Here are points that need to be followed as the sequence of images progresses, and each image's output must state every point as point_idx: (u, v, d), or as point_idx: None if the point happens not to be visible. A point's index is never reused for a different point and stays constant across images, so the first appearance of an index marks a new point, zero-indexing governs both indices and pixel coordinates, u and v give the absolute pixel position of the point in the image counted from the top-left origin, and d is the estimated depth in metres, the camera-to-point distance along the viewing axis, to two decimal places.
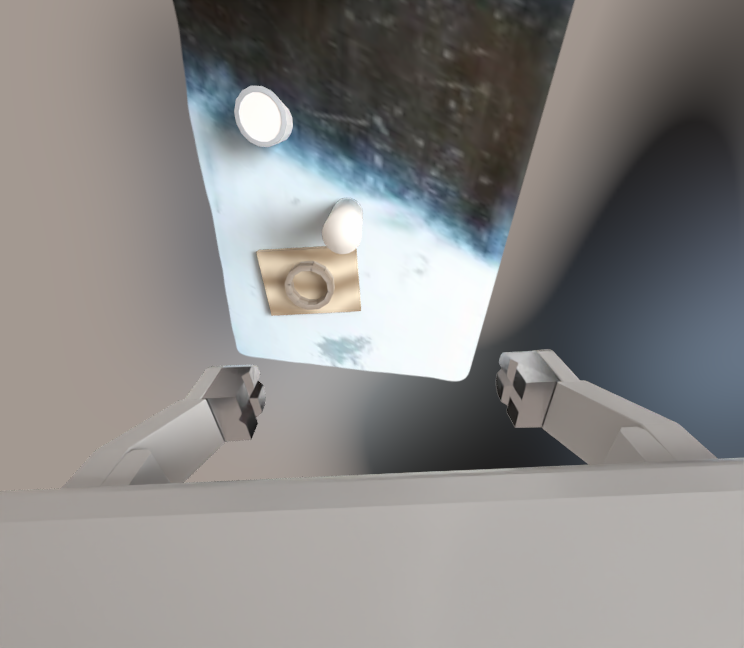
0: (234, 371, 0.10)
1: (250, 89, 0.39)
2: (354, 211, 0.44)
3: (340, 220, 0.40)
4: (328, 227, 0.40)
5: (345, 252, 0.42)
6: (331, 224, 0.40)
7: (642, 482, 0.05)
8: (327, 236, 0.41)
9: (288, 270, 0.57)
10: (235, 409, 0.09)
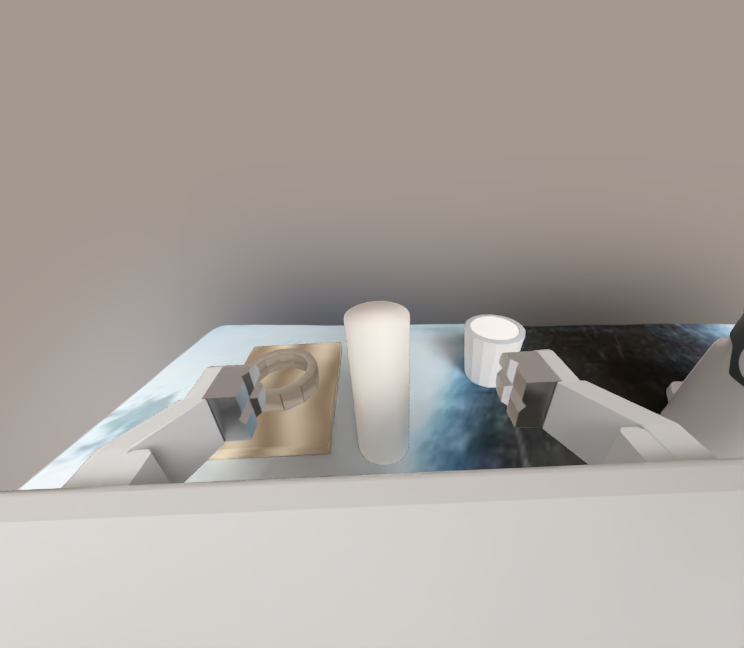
0: (234, 371, 0.10)
1: (517, 323, 0.37)
2: (404, 378, 0.25)
3: (400, 314, 0.24)
4: (389, 305, 0.26)
5: (346, 318, 0.24)
6: (393, 307, 0.25)
7: (642, 482, 0.05)
8: (374, 304, 0.26)
9: None
10: (235, 409, 0.09)
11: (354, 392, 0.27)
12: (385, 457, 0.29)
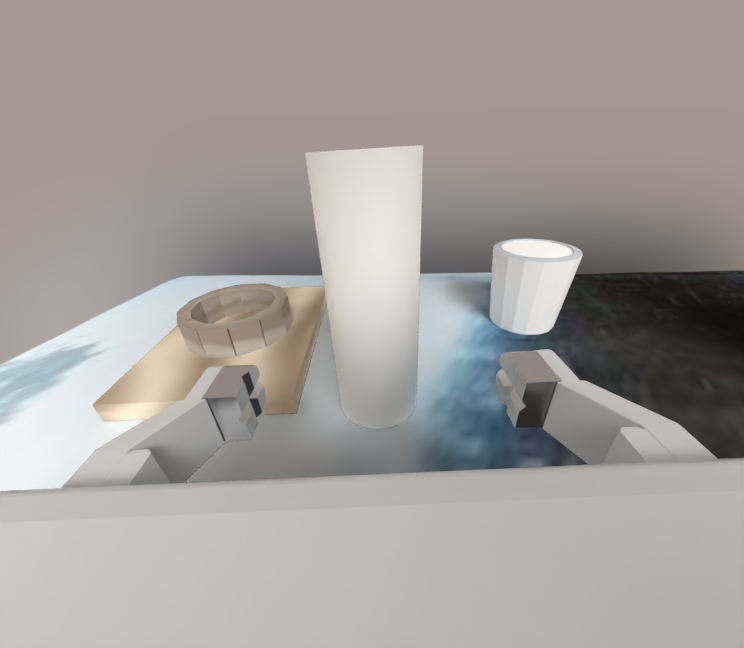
0: (234, 371, 0.10)
1: (567, 244, 0.27)
2: (411, 269, 0.15)
3: (405, 146, 0.14)
4: None
5: None
6: None
7: (642, 482, 0.05)
8: None
9: None
10: (235, 409, 0.09)
11: (328, 301, 0.16)
12: (380, 415, 0.18)
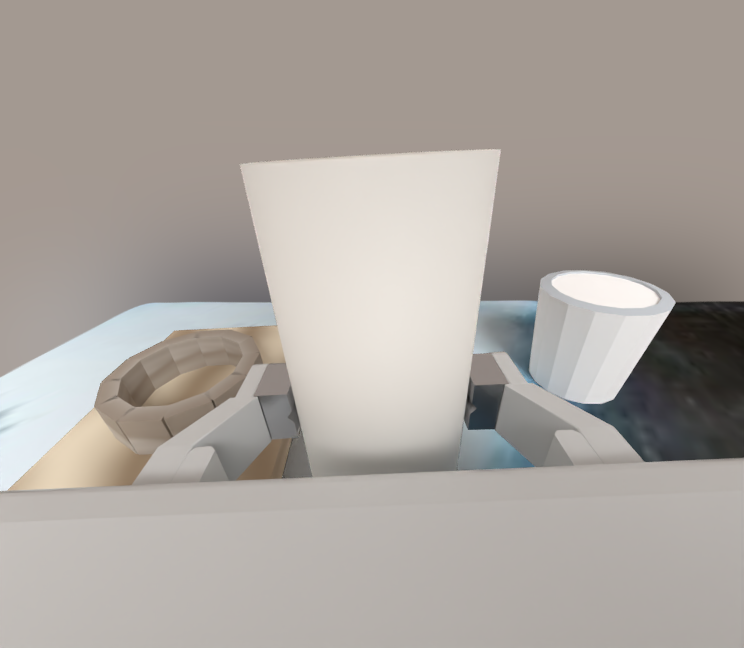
0: (280, 369, 0.09)
1: (644, 282, 0.19)
2: (461, 390, 0.08)
3: (457, 151, 0.06)
4: None
5: None
6: None
7: (642, 482, 0.05)
8: (364, 155, 0.08)
9: None
10: (285, 407, 0.09)
11: (302, 430, 0.09)
12: None
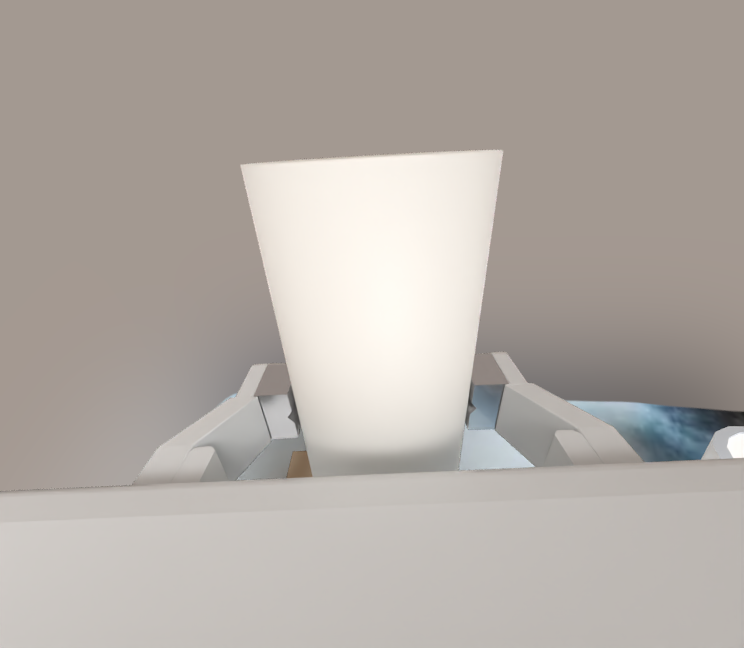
0: (280, 369, 0.09)
1: None
2: (463, 392, 0.08)
3: None
4: (412, 153, 0.08)
5: None
6: None
7: (642, 482, 0.05)
8: None
9: None
10: (285, 407, 0.09)
11: (303, 432, 0.09)
12: None
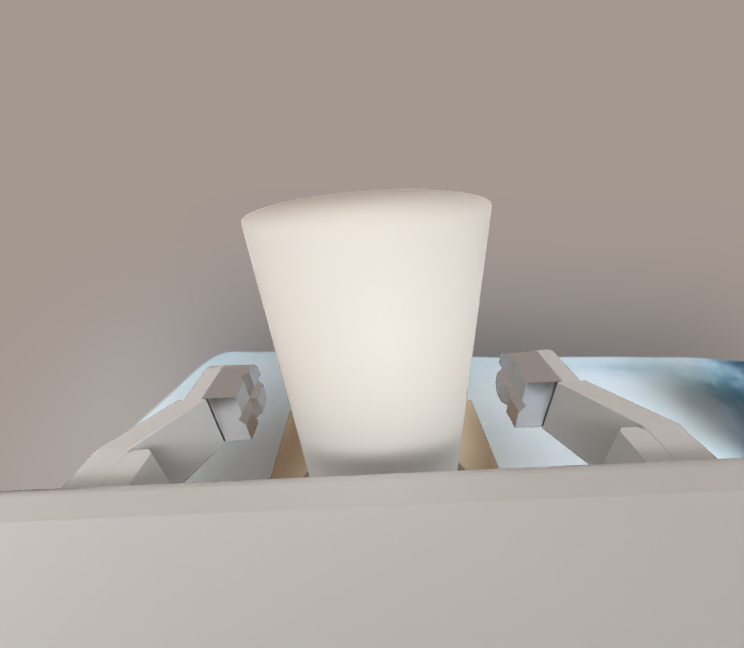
0: (234, 371, 0.10)
1: None
2: (457, 423, 0.08)
3: (450, 200, 0.07)
4: (406, 192, 0.08)
5: (253, 215, 0.07)
6: (421, 193, 0.08)
7: (642, 482, 0.05)
8: (361, 194, 0.08)
9: None
10: (235, 409, 0.09)
11: (305, 458, 0.09)
12: None
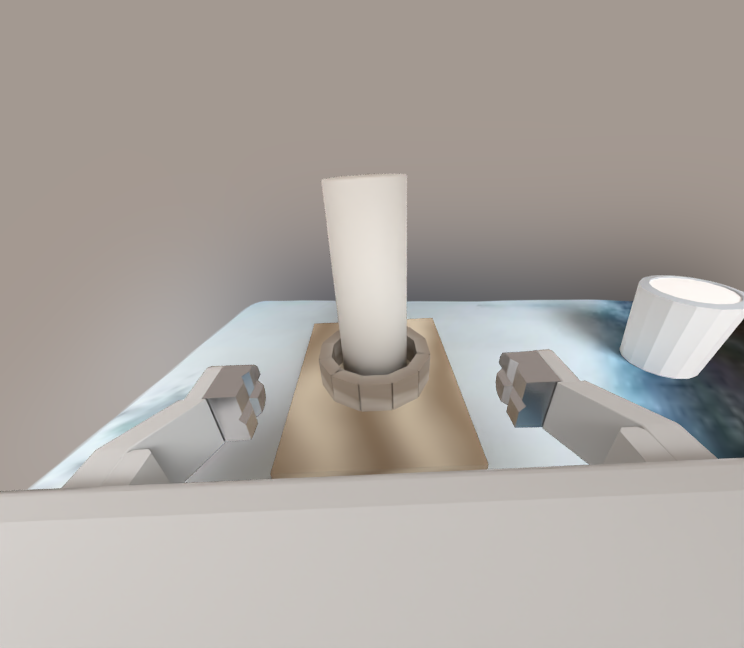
0: (234, 371, 0.10)
1: None
2: (399, 265, 0.20)
3: (394, 175, 0.19)
4: (380, 174, 0.20)
5: (324, 179, 0.19)
6: (386, 174, 0.20)
7: (642, 482, 0.05)
8: (362, 175, 0.20)
9: None
10: (235, 409, 0.09)
11: (336, 290, 0.21)
12: None
